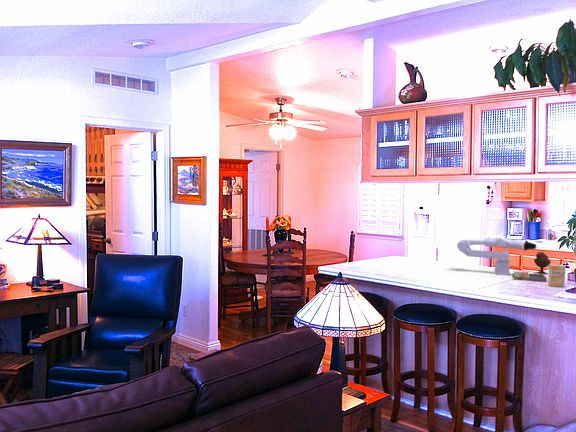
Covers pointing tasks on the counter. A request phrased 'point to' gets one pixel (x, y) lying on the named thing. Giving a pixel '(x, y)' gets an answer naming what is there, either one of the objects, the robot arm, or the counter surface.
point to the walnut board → (521, 277)
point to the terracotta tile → (524, 273)
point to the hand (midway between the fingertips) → (535, 246)
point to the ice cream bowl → (541, 261)
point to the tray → (538, 277)
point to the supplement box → (556, 275)
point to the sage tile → (517, 273)
